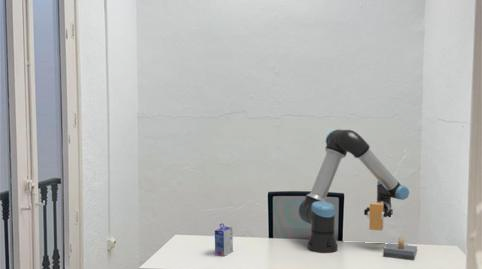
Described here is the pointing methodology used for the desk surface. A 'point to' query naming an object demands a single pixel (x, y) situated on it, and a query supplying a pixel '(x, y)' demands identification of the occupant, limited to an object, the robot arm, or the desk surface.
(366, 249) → the desk surface
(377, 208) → the orange tan rectangular block
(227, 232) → the ink cartridge box
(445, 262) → the desk surface
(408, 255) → the plate
